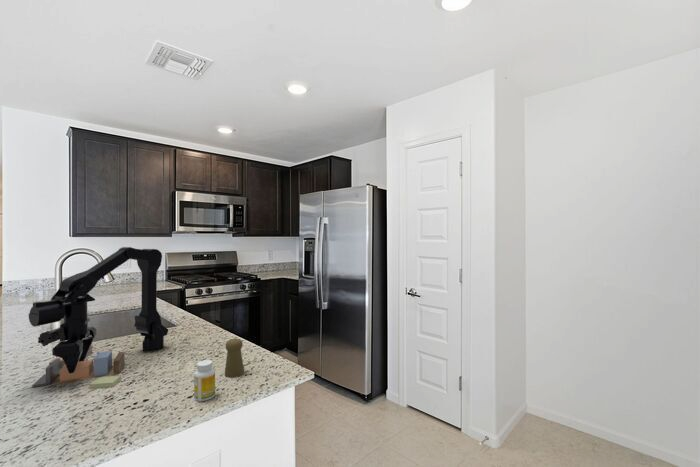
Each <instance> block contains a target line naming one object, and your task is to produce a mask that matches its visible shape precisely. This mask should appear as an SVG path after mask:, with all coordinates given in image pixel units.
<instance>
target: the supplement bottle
mask: <svg viewBox="0 0 700 467" xmlns="http://www.w3.org/2000/svg"><path fill="white" fill-rule="evenodd" d="M213 366H214V364H213V360H211V359H203V360H200V361H198V362H197V363H196V369H197V370H196V371H195V372H194V373H193V375H194V376H193V390H194V391H193V394H194V396H193V398H194V400H195V401H197V402H205V401H209V400H211V399H213V398H214V397H215V396H216V369H215V368H214V367H213Z"/></svg>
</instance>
